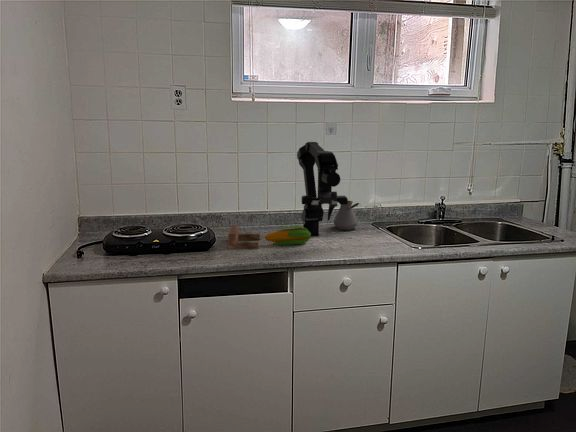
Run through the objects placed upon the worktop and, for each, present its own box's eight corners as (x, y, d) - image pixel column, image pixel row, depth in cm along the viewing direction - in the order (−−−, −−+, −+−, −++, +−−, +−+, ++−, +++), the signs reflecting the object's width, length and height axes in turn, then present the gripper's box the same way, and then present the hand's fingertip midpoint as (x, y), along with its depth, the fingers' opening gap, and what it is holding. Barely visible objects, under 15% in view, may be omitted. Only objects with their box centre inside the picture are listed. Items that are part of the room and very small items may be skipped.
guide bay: (259, 239, 210) (259, 225, 209) (258, 248, 196) (258, 234, 194) (232, 239, 210) (231, 225, 209) (228, 248, 196) (228, 234, 194)
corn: (313, 226, 200) (266, 229, 195) (313, 244, 202) (266, 248, 196) (307, 224, 208) (262, 226, 202) (308, 241, 209) (262, 244, 203)
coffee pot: (330, 226, 235) (330, 195, 232) (352, 224, 238) (353, 194, 235) (345, 236, 215) (346, 203, 212) (369, 235, 218) (370, 202, 214)
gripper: (302, 186, 190) (302, 224, 193) (350, 186, 190) (349, 224, 194) (301, 182, 201) (301, 218, 204) (346, 182, 201) (345, 218, 205)
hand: (323, 220), depth 201 cm, fingers open, 3 cm apart
